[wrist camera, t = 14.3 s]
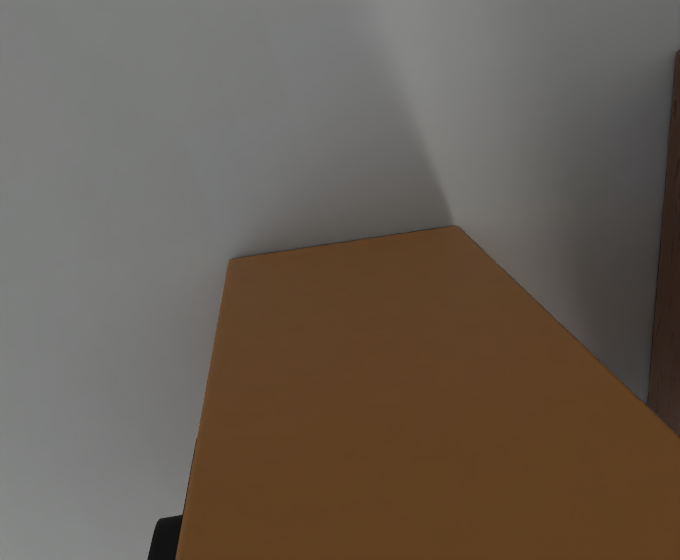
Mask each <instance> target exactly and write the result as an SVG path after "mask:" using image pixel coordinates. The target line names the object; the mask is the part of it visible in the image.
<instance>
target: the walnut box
mask: <svg viewBox="0 0 680 560" xmlns="http://www.w3.org/2000/svg"><path fill="white" fill-rule="evenodd" d="M648 407H649V408H650V409H651V410H652V411H653V412H654V413H655V414H656V415H657V416H658V417H659V418H660V419H661V420H662V421H663V422H664V423H665V424H666V425H667V426H669V427H670V428H671V429H672V430H673V431H674V432H675V433H676V434H677V435H678V436H679V437H680V50H679V51H678V52H677V56H676V68H675V80H674V92H673V104H672V116H671V128H670V140H669V152H668V164H667V176H666V189H665V201H664V213H663V225H662V237H661V249H660V261H659V273H658V285H657V297H656V309H655V322H654V334H653V346H652V358H651V370H650V382H649V394H648Z"/></svg>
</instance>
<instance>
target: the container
mask: <svg viewBox="0 0 680 560" xmlns="http://www.w3.org/2000/svg"><path fill="white" fill-rule="evenodd" d="M176 560H680V437H679V436H678V435H677V434H676V433H675V432H674V431H673V430H672V429H671V428H670V427H669V426H667V425H666V424H665V423H664V422H663V421H662V420H661V419H660V418H659V417H658V416H657V415H656V414H655V413H654V412H653V411H652V410H651V409H650V408H649V407H648V406H646V405H645V404H644V403H643V402H642V401H641V400H640V399H639V398H638V397H637V396H636V395H635V394H634V393H633V392H632V391H631V390H630V389H629V388H628V387H627V386H626V385H624V384H623V383H622V382H621V381H620V380H619V379H618V378H617V377H616V376H615V375H614V374H613V373H612V372H611V371H610V370H609V369H608V368H607V367H606V366H605V365H603V364H602V363H601V362H600V361H599V360H598V359H597V358H596V357H595V356H594V355H593V354H592V353H591V352H590V351H589V350H588V349H587V348H586V347H585V346H584V345H582V344H581V343H580V342H579V341H578V340H577V339H576V338H575V337H574V336H573V335H572V334H571V333H570V332H569V331H568V330H567V329H566V328H565V327H564V326H563V325H561V324H560V323H559V322H558V321H557V320H556V319H555V318H554V317H553V316H552V315H551V314H550V313H549V312H548V311H547V310H546V309H545V308H544V307H543V306H542V305H540V304H539V303H538V302H537V301H536V300H535V299H534V298H533V297H532V296H531V295H530V294H529V293H528V292H527V291H526V290H525V289H524V288H523V287H522V286H521V285H520V284H518V283H517V282H516V281H515V280H514V279H513V278H512V277H511V276H510V275H509V274H508V273H507V272H506V271H505V270H504V269H503V268H502V267H501V266H500V265H499V264H497V263H496V262H495V261H494V260H493V259H492V258H491V257H490V256H489V255H488V254H487V253H486V252H485V251H484V250H483V249H482V248H481V247H480V246H479V245H478V244H476V243H475V242H474V241H473V240H472V239H471V238H470V237H469V236H468V235H467V234H466V233H465V232H464V231H463V230H462V229H461V228H460V227H459V226H450V227H443V228H437V229H430V230H423V231H416V232H410V233H403V234H396V235H389V236H383V237H376V238H369V239H362V240H356V241H349V242H342V243H335V244H329V245H322V246H315V247H308V248H302V249H295V250H288V251H281V252H275V253H268V254H261V255H254V256H248V257H241V258H234V259H231V260H229V263H228V268H227V274H226V279H225V285H224V290H223V296H222V302H221V307H220V313H219V318H218V324H217V330H216V335H215V341H214V347H213V352H212V358H211V363H210V369H209V375H208V380H207V386H206V391H205V397H204V403H203V408H202V414H201V419H200V425H199V431H198V436H197V442H196V448H195V453H194V459H193V464H192V470H191V476H190V481H189V487H188V492H187V498H186V504H185V509H184V515H183V520H182V526H181V532H180V537H179V543H178V549H177V554H176Z"/></svg>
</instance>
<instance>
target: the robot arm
mask: <svg viewBox="0 0 680 560" xmlns="http://www.w3.org/2000/svg"><path fill="white" fill-rule="evenodd" d="M196 442H197V439H196ZM195 448H196V444H195ZM194 453H195V449H194ZM193 459H194V455H193ZM192 464H193V460H192ZM191 470H192V466H191ZM190 476H191V471H190ZM189 481H190V477H189ZM188 487H189V482H188ZM187 492H188V488H187ZM186 498H187V493H186ZM185 504H186V499H185ZM185 504H184V509H185ZM183 515H184V510H183ZM183 515H179V516H173V517H167V518H161V519H159V520H158V522H157V524H156V527H155V530H154V534H153V538H152V542H151V547H150V551H149V555H148V560H176V554H177V549H178V543H179V537H180V532H181V526H182V520H183Z"/></svg>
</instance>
